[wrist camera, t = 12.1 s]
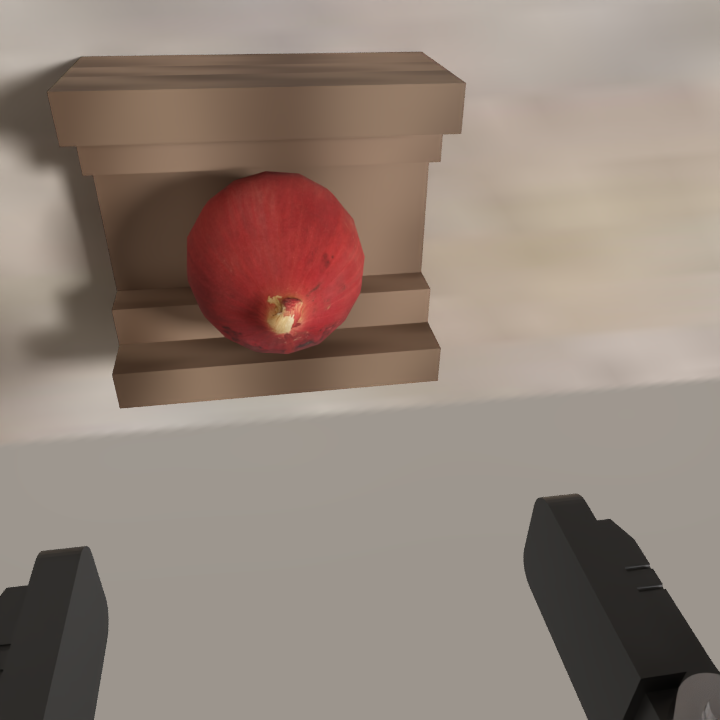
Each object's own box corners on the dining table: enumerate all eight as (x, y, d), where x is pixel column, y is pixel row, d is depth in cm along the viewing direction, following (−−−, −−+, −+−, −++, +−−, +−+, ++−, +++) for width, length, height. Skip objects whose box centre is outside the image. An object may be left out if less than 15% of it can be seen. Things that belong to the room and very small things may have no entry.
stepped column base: (136, 331, 29) (119, 408, 25) (81, 56, 23) (47, 91, 19) (406, 312, 31) (437, 380, 26) (421, 51, 25) (465, 83, 20)
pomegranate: (361, 266, 27) (406, 380, 20) (224, 308, 27) (225, 435, 20) (322, 123, 24) (360, 204, 17) (165, 171, 24) (143, 270, 17)
